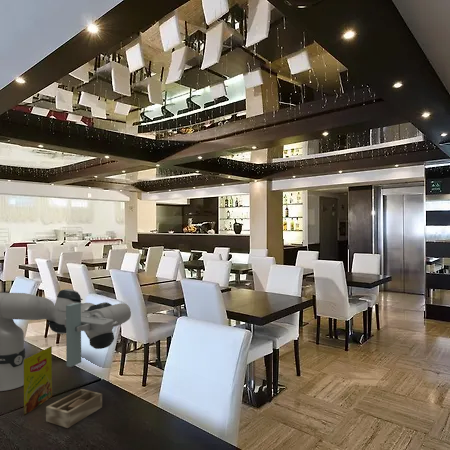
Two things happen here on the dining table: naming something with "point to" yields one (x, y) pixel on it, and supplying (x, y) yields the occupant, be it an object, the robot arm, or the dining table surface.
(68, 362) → the blue-grey rectangular bar
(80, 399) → the upper offcut
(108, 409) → the dining table surface
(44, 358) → the food package
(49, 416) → the slot rack
